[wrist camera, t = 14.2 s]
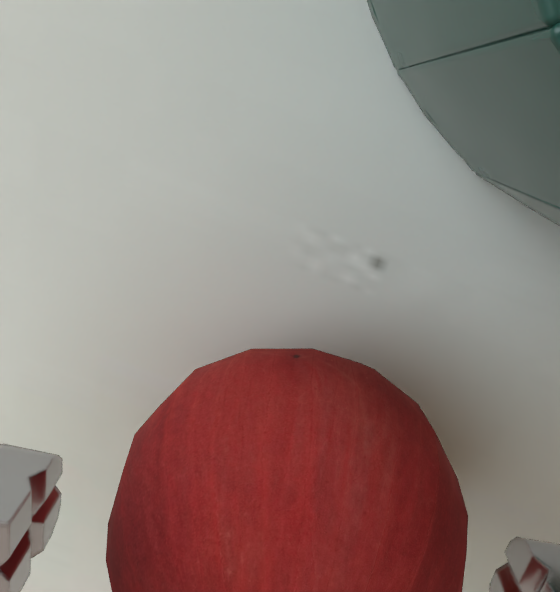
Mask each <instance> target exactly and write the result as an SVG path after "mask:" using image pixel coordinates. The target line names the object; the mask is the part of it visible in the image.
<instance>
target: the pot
mask: <svg viewBox="0 0 560 592" xmlns="http://www.w3.org/2000/svg"><path fill="white" fill-rule="evenodd" d="M367 2H368V5H369V8H370V12H371V15H372V18H373V20H374V22H375V24H376V26H377V29H378V31H379V33H380V35H381V37H382V40H383V42H384V44H385V46H386V48H387V51H388V53H389V55H390V57H391V59H392V62H393V65H394V67H395V68H396V70H397V72H398V75H399V76H400V78H401V79H402V80H403V82H404V83H405V84H406V86H407V88H408V89H409V91H410V92H411V94H412V96H413V97H414V99H415V100H416V102H417V104H418V105H419V107H420V108H421V110H422V112H423V113H424V115H425V116H426V117H427V118H428V119H429V121H430V122H431V123H432V124H433V125H434V127H435V128H436V129H437V130H438V131H439V132H440V134H441V135H442V136H443V137H444V138H445V139H446V141H447V142H448V143H449V144H450V145H451V147H452V148H453V149H454V150H455V151H456V152H457V154H459V155H460V156H461V157H462V158H463V159H464V160H465V162H466V163H467V164H468V165H469V167H470V168H471V169H472V171H474V172H476V175H478V176H479V177H481V178H483V179H484V180H486V181H487V182H489V183H491V184H492V185H494V186H496V187H497V188H499V189H500V190H502V191H504V192H505V193H507V194H508V195H510V196H512V197H513V198H515V199H516V200H518V201H519V202H521V203H523V204H524V205H526V206H527V207H529V208H530V209H532V210H534V211H536V212H538V213H539V214H541V215H543V216H544V217H546V218H547V219H549V220H551V221H552V222H554V223H556V224H557V225H559V226H560V0H367Z"/></svg>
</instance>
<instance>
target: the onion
mask: <svg viewBox="0 0 560 592" xmlns="http://www.w3.org/2000/svg"><path fill="white" fill-rule="evenodd" d="M467 527H468V514H467V511H466V507H465V504H464V500H463V496H462V493H461V489H460V486H459V482H458V479H457V476H456V474H455V472H454V470H453V468H452V466H451V464H450V462H449V460H448V458H447V456H446V454H445V452H444V450H443V448H442V445H441V443H440V441H439V439H438V437H437V435H436V433H435V431H434V429H433V428H432V426H431V424H430V423H429V421H428V420H427V418H426V416H425V415H424V413H423V411H422V410H421V408H420V407H419V405H418V404H417V403H416V402H415V401H414V400H412V399H411V398H410V397H409V396H407V395H406V394H405V393H404V392H402V391H401V390H400V389H399V388H397V387H396V386H395V385H393V384H392V383H391V382H390V381H388V380H387V379H386V378H385V377H383V376H382V375H381V374H380V373H378V372H377V371H376V370H375V369H373V368H370V367H368V366H366V365H363V364H361V363H358V362H355V361H352V360H348V359H345V358H342V357H338V356H335V355H332V354H328V353H325V352H322V351H319V350H315V349H250V350H247V351H244V352H241V353H239V354H236V355H233V356H230V357H228V358H225V359H222V360H219V361H217V362H214V363H211V364H208V365H206V366H203V367H200V368H197V369H195V370H194V371H193V372H192V373H191V374H190V375H189V376H188V377H187V378H186V379H185V381H184V382H183V383H182V384H181V385H180V386H179V387H178V388H177V389H176V390H175V391H174V392H173V393H172V394H171V395H170V396H169V397H168V398H167V399H166V400H165V401H164V402H163V403H162V404H161V405H160V406H159V407H158V408H157V409H156V411H155V412H154V413H153V414H152V415H151V416H150V417H149V419H148V420H147V421H146V422H145V423H144V424H143V426H142V427H141V428H140V429H139V430H138V431H137V432H136V434H135V435H134V438H133V441H132V444H131V448H130V451H129V454H128V457H127V460H126V463H125V466H124V469H123V473H122V476H121V480H120V483H119V487H118V491H117V494H116V498H115V501H114V505H113V508H112V512H111V515H110V519H109V522H108V534H107V551H106V563H107V568H108V573H109V578H110V583H111V588H112V592H462V586H463V577H464V569H465V561H466V550H467Z"/></svg>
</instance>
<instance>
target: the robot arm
mask: <svg viewBox="0 0 560 592" xmlns="http://www.w3.org/2000/svg"><path fill="white" fill-rule="evenodd" d="M61 475H62V458H61V457H60V456H59V455H56V454H51V453H46V452H42V451H37V450H32V449H27V448H22V447H17V446H12V445H7V444H0V592H20V591H21V589H22V588H23V586H24V584H25V582H26V581H27V579H28V577H29V575H30V565H31V558H32V557H34V556H36V555H37V554H39V553H40V552H42V551H44V549H45V547H46V545H47V543H48V541H49V539H50V538H51V536H52V533H53V530H54V528H55V525H56V522H57V519H58V516H59V511H60V506H61V492H60V491H59V489H58V488H57V487H56V483H57V481H58V480H59V478H60V476H61ZM505 555H506V557H507V560H508V563H506V564H504V565H503V566H501V567H499V568H498V569H496V570H495V573H494V575H493V577H492V580H491V582H490V588H489V592H560V544H557V543H551V542H545V541H539V540H534V539H528V538H522V537H515V538H514V539H512V540H511V541H510V542H509V544H508V546H507V548H506V550H505Z"/></svg>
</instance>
